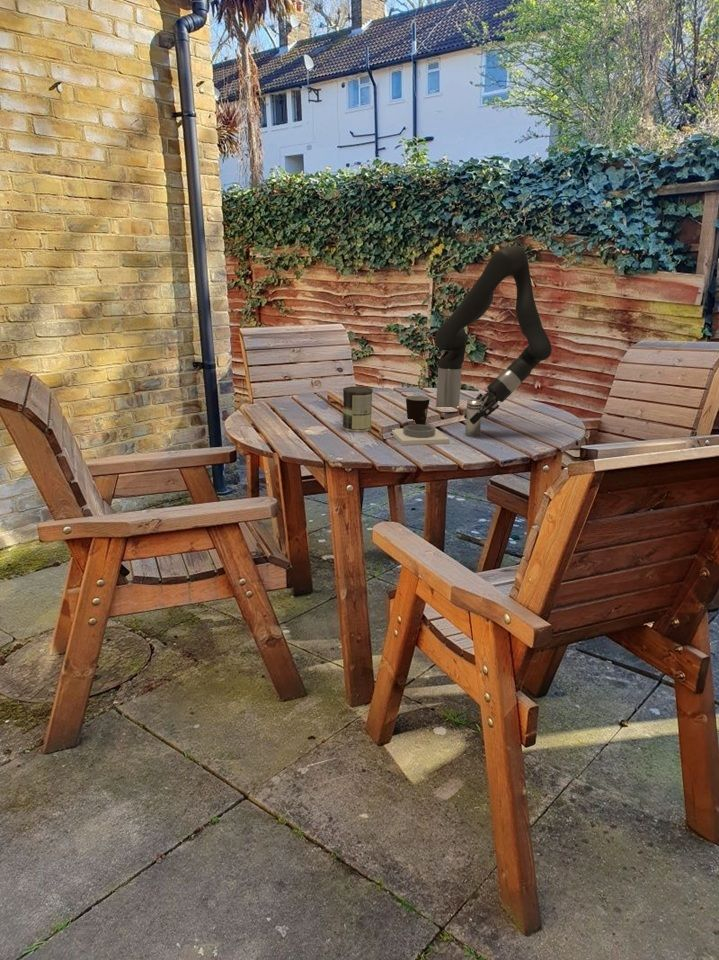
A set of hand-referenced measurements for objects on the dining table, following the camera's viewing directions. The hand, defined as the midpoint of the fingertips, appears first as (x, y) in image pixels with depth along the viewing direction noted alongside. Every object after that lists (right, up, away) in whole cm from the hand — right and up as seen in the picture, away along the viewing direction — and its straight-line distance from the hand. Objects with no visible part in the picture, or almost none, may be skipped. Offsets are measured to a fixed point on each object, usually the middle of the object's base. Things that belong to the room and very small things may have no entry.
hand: (468, 420), depth 232 cm
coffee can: (-38, -2, +7) cm, 39 cm away
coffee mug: (-16, 0, +15) cm, 22 cm away
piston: (+2, -5, +2) cm, 6 cm away
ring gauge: (-17, -6, -4) cm, 19 cm away
